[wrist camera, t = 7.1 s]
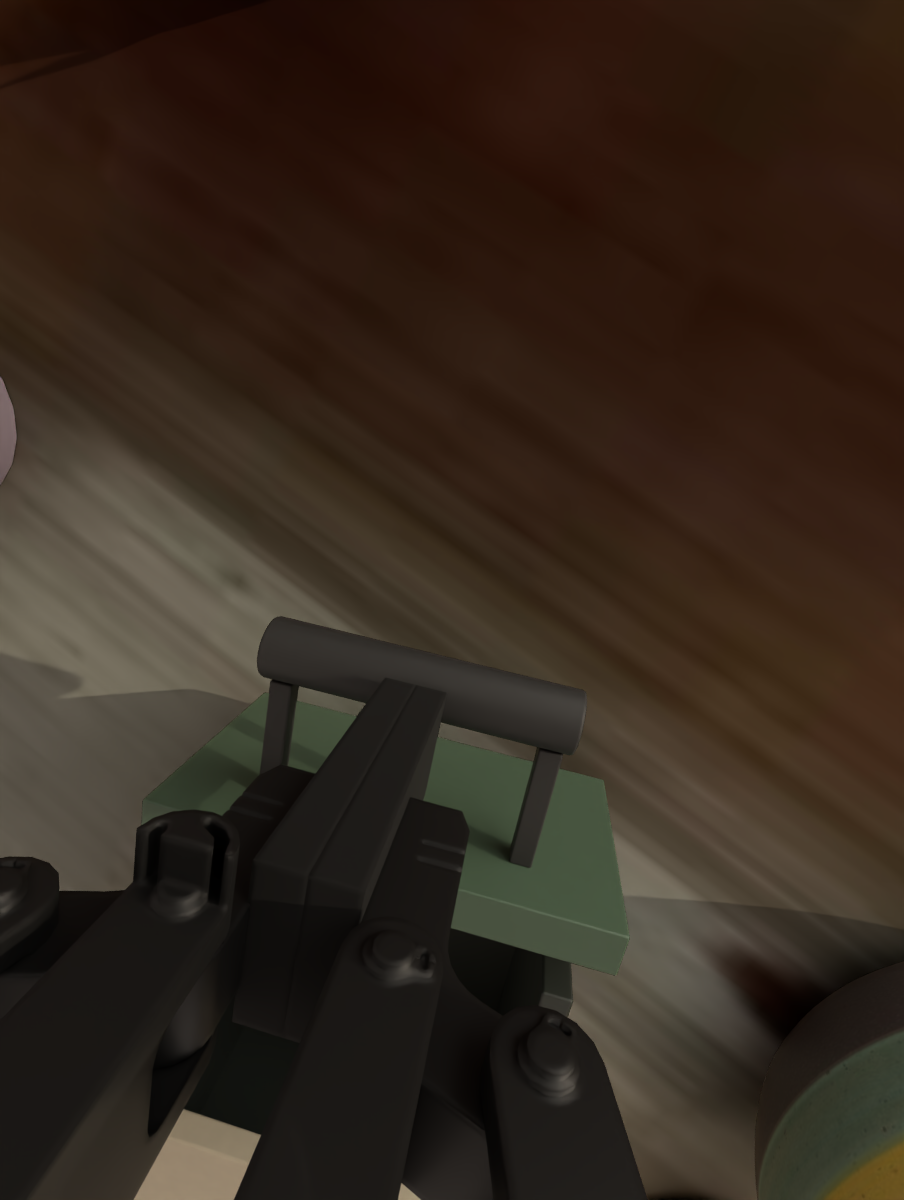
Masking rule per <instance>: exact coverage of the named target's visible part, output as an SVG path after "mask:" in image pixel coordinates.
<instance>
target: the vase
mask: <svg viewBox="0 0 904 1200" xmlns="http://www.w3.org/2000/svg"><path fill="white" fill-rule="evenodd" d="M755 1177H756V1190H757V1198H758V1200H904V961H903V962H899V963H896V964H893V965H890V966H887V967H884V968H881V969H879V970H876V971H874V972H872V973H869V974H867V975H865V976H863V977H860V978H858V979H856V980H854V981H852V982H850V983H849V984H847V985H845V986H843V987H842V988H840V989H838V990H837V991H835V992H834V993H832V994H831V995H829V996H828V997H826V998H825V999H824V1000H822V1001H821V1002H820V1003H819V1004H817V1005H816V1006H815V1007H814V1008H813V1009H812V1010H811V1011H809V1012H808V1013H807V1014H806V1015H805V1016H804V1017H803V1018H802V1019H801V1020H800V1021H799V1023H798V1024H797V1025H796V1026H795V1027H794V1028H793V1029H792V1030H791V1031H790V1033H789V1034H788V1035H787V1037H786V1038H785V1039H784V1041H783V1042H782V1044H781V1045H780V1047H779V1049H778V1050H777V1052H776V1054H775V1055H774V1058H773V1060H772V1062H771V1064H770V1066H769V1069H768V1072H767V1075H766V1078H765V1081H764V1083H763V1086H762V1090H761V1094H760V1099H759V1105H758V1112H757V1120H756V1129H755Z"/></svg>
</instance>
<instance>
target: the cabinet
mask: <svg viewBox="0 0 904 1200" xmlns="http://www.w3.org/2000/svg"><path fill="white" fill-rule="evenodd" d="M260 1136H261V1135H260V1134H257V1133H254V1132H251V1131H248V1130H245V1129H242V1128H239V1127H236V1126H233V1125H230V1124H227V1123H224V1122H221V1121H218V1120H215V1119H212V1118H209V1117H206V1116H203V1115H200V1114H197V1113H194V1112H191V1111H188V1110H185V1109H183V1111H182V1113H181V1115H180V1116H179V1118H178V1120H177V1122H176V1124H175V1126H174V1127H173V1129H172V1131H171V1133H170V1135H169V1136H168V1138H167V1140H166V1142H165V1144H164V1146H163V1147H162V1149H161V1151H160V1153H159V1155H158V1156H157V1158H156V1160H155V1162H154V1164H153V1166H152V1167H151V1169H150V1171H149V1173H148V1175H147V1176H146V1178H145V1180H144V1182H143V1184H142V1185H141V1187H140V1189H139V1191H138V1193H137V1195H136V1196H135V1198H134V1200H234V1198H235V1196H236V1193H237V1191H238V1189H239V1186H240V1184H241V1181H242V1179H243V1177H244V1174H245V1172H246V1170H247V1167H248V1165H249V1162H250V1160H251V1158H252V1155H253V1153H254V1151H255V1148H256V1146H257V1143H258V1141H259V1139H260ZM398 1200H421V1199H420V1198H418V1197H417V1196H416V1195H415V1194H414V1193H413V1192H411V1191H410V1190H409V1189H408V1188H407V1187H406V1186H404V1185H403V1184H402V1183H401V1187H400V1192H399V1197H398Z"/></svg>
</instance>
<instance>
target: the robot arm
mask: <svg viewBox="0 0 904 1200" xmlns="http://www.w3.org/2000/svg"><path fill="white" fill-rule="evenodd" d="M446 695H447V693H446V692H442V691H438V690H434V689H430V688H426V687H422V686H418V685H414V684H410V683H406V682H402V681H398V680H394V679H390V678H386V677H385V678H384V680H383V681H382V683H381V684H380V685H379V687H378V688H377V689H376V691H375V692H374V694H373V695H372V696H371V698H370V699H369V700H368V702H367V703H366V705H365V706H364V707H363V709H362V710H361V712H360V713H359V714H358V716H357V717H356V718H355V720H354V721H353V723H352V724H351V725H350V727H349V728H348V729H347V731H346V732H345V734H344V735H343V736H342V738H341V739H340V740H339V742H338V743H337V745H336V746H335V747H334V749H333V750H332V752H331V753H330V754H329V756H328V757H327V758H326V760H325V761H324V763H323V764H322V765H321V767H320V768H319V769H318V771H317V772H316V774H315V773H311V772H308V771H304V770H300V769H297V768H293V767H289V766H285V765H282V764H281V765H279V766H277V767H275V768H273V769H271V770H269V771H267V772H265V773H262V774H260V775H258V776H257V777H256V779H255V780H254V781H253V782H252V783H251V784H250V785H249V786H248V787H247V789H246V790H245V791H244V792H243V794H242V796H239V797H238V798H237V800H236V801H235V802H234V803H233V804H232V805H231V807H230V809H229V810H227V811H226V812H225V813H224V814H223V815H222V816H221V815H219V814H216V813H214V812H210V811H202V810H195V809H192V810H181V811H172V812H169V813H166V814H163V815H160V816H157V817H154V818H152V819H151V820H149V821H147V822H146V823H144V824H143V825H141V826H140V827H138V828H137V833H136V848H135V862H134V877H133V883H132V884H131V885H130V886H129V887H128V888H127V889H126V890H120V891H105V892H102V891H59V874H58V872H57V871H56V870H55V869H54V868H53V867H52V866H51V865H50V863H48V862H45V861H42V860H39V859H36V858H33V857H4V858H0V1200H134V1198H135V1196H136V1195H137V1193H138V1191H139V1189H140V1187H141V1185H142V1184H143V1182H144V1180H145V1178H146V1176H147V1175H148V1173H149V1171H150V1169H151V1167H152V1166H153V1164H154V1162H155V1160H156V1158H157V1156H158V1155H159V1153H160V1151H161V1149H162V1147H163V1146H164V1144H165V1142H166V1140H167V1138H168V1136H169V1135H170V1133H171V1131H172V1129H173V1127H174V1126H175V1124H176V1122H177V1120H178V1118H179V1116H180V1115H181V1113H182V1111H183V1109H184V1107H185V1106H186V1104H187V1102H188V1100H189V1098H190V1096H191V1095H192V1093H193V1091H194V1089H195V1087H196V1086H197V1084H198V1082H199V1080H200V1078H201V1076H202V1075H203V1073H204V1071H205V1069H206V1067H207V1066H208V1064H209V1062H210V1059H211V1056H212V1053H213V1050H214V1047H215V1044H216V1036H217V1028H218V1024H219V1022H220V1020H221V1018H222V1017H223V1015H224V1013H225V1011H226V1010H227V1008H228V1006H229V1004H230V1003H231V1001H232V999H233V998H234V996H235V1001H234V1009H233V1017H232V1022H234V1023H238V1024H241V1025H244V1026H247V1027H250V1028H253V1029H257V1030H260V1031H263V1032H266V1033H269V1034H272V1035H275V1036H279V1037H282V1038H285V1039H288V1040H291V1041H294V1042H298V1043H300V1044H299V1046H298V1048H297V1051H296V1053H295V1056H294V1058H293V1060H292V1063H291V1065H290V1067H289V1070H288V1072H287V1075H286V1077H285V1079H284V1082H283V1084H282V1086H281V1089H280V1091H279V1094H278V1096H277V1098H276V1101H275V1103H274V1105H273V1108H272V1110H271V1113H270V1115H269V1117H268V1120H267V1122H266V1124H265V1127H264V1129H263V1132H262V1134H261V1136H260V1139H259V1141H258V1143H257V1146H256V1148H255V1151H254V1153H253V1155H252V1158H251V1160H250V1162H249V1165H248V1167H247V1170H246V1172H245V1174H244V1177H243V1179H242V1181H241V1184H240V1186H239V1189H238V1191H237V1193H236V1196H235V1198H234V1200H398V1197H399V1192H400V1187H401V1183H402V1184H403V1185H404V1186H406V1187H407V1188H408V1189H409V1190H410V1191H411V1192H413V1193H414V1194H415V1195H416V1196H417V1197H418V1198H420V1199H421V1200H648V1199H647V1196H646V1193H645V1190H644V1187H643V1184H642V1180H641V1177H640V1174H639V1171H638V1168H637V1165H636V1162H635V1158H634V1155H633V1152H632V1149H631V1146H630V1143H629V1140H628V1136H627V1133H626V1130H625V1127H624V1124H623V1121H622V1118H621V1114H620V1111H619V1108H618V1105H617V1102H616V1099H615V1096H614V1092H613V1089H612V1086H611V1083H610V1080H609V1077H608V1074H607V1071H606V1067H605V1064H604V1062H603V1060H602V1058H601V1056H600V1054H599V1052H598V1050H597V1048H596V1046H595V1044H594V1042H593V1041H592V1040H591V1039H590V1038H589V1037H588V1035H587V1034H586V1033H585V1032H584V1031H583V1030H582V1029H581V1028H580V1027H579V1026H578V1024H577V1023H575V1022H574V1021H572V1020H571V1019H569V1018H567V1017H566V1016H564V1015H563V1014H561V1013H559V1012H558V1011H556V1010H553V1009H549V1008H545V1007H541V1006H537V1005H530V1006H522V1007H515V1008H514V1009H512V1010H511V1011H509V1012H508V1013H506V1014H505V1015H503V1016H502V1015H501V1014H499V1013H498V1012H496V1011H495V1010H493V1009H492V1008H490V1007H489V1006H487V1005H485V1004H484V1003H482V1002H481V1001H480V1000H479V999H477V998H476V997H475V996H474V995H472V994H471V993H470V992H469V991H468V990H467V989H466V988H465V987H464V985H463V984H462V983H461V982H460V981H459V979H458V978H457V976H456V974H455V972H454V970H453V968H452V966H451V963H450V959H449V954H448V939H449V934H450V929H451V924H452V919H453V914H454V909H455V904H456V899H457V894H458V889H459V884H460V879H461V873H462V868H463V863H464V858H465V853H466V848H467V843H468V838H469V833H470V830H469V828H468V825H467V822H466V820H465V817H464V814H463V812H462V811H460V810H456V809H453V808H449V807H445V806H441V805H438V804H434V803H430V802H427V801H423V799H424V796H425V793H426V789H427V784H428V779H429V775H430V770H431V765H432V760H433V756H434V751H435V746H436V742H437V737H438V732H439V728H440V723H441V718H442V714H443V709H444V704H445V699H446Z"/></svg>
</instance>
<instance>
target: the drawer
mask: <svg viewBox="0 0 904 1200" xmlns="http://www.w3.org/2000/svg"><path fill="white" fill-rule="evenodd" d="M257 667H258V671H259V673H260V675H262V676H263V677H266V678H270V679H272V680H271V682H270V690H269V693H264V694H262V695H261V696H260V697H259V698H258V699H257V700H256V701H254V702H253V703H252V704H251V705H250V706H249V707H248V708H247V709H245V710H244V711H243V712H242V713H241V714H240V715H239V716H237V717H236V718H235V719H234V720H233V721H232V722H231V723H230V724H228V725H227V726H226V727H225V728H224V729H223V730H222V731H220V732H219V733H218V734H217V735H216V736H215V737H214V738H212V739H211V740H210V741H209V742H208V743H207V744H206V745H205V746H203V747H202V748H201V749H200V750H199V751H198V752H197V753H195V754H194V755H193V756H192V757H191V758H190V759H189V760H188V761H186V762H185V763H184V764H183V765H182V766H181V767H180V768H178V769H177V770H176V771H175V772H174V773H173V774H172V775H171V776H169V777H168V778H167V779H166V780H165V781H164V782H163V783H161V784H160V785H159V786H158V787H157V788H156V789H155V790H153V791H152V792H151V793H150V794H149V795H148V796H147V797H146V798H144V800H143V803H142V821H141V825H143V824H144V823H146V822H147V821H149V820H151V819H152V818H154V817H157V816H160V815H163V814H166V813H169V812H172V811H181V810H192V809H195V810H202V811H210V812H214V813H216V814H219V815H221V816H222V815H223V814H224V813H225V812H226V811H227V810H229V809H230V807H231V805H232V804H233V803H234V802H235V801H236V800H237V798H238V797H239V796H242V794H243V792H244V791H245V790H246V789H247V787H248V786H249V785H250V784H251V783H252V782H253V781H254V780H255V779H256V777H257V776H258V775H260V774H262V773H265V772H267V771H269V770H271V769H273V768H275V767H277V766H279V765H281V764H282V765H285V766H289V767H293V768H297V769H300V770H304V771H308V772H311V773H315V774H316V772H317V771H318V769H319V768H320V767H321V765H322V764H323V763H324V761H325V760H326V758H327V757H328V756H329V754H330V753H331V752H332V750H333V749H334V747H335V746H336V745H337V743H338V742H339V740H340V739H341V738H342V736H343V735H344V734H345V732H346V731H347V729H348V728H349V727H350V725H351V724H352V723H353V721H354V720H355V718H356V717H357V716H354V715H350V714H346V713H342V712H338V711H334V710H331V709H327V708H323V707H319V706H315V705H311V704H307V703H304V702H300V701H297V696H298V688H299V686H301V687H305V688H309V689H313V690H317V691H321V692H324V693H328V694H332V695H336V696H340V697H344V698H348V699H352V700H356V701H360V702H364V703H367V702H368V700H369V699H370V698H371V696H372V695H373V694H374V692H375V691H376V689H377V688H378V687H379V685H380V684H381V683H382V681H383V680H384V678H385V677H386V678H390V679H394V680H398V681H402V682H406V683H410V684H414V685H418V686H422V687H426V688H430V689H434V690H438V691H442V692H446V693H447V695H446V699H445V704H444V709H443V714H442V718H441V722H442V723H446V724H449V725H453V726H457V727H461V728H465V729H469V730H473V731H477V732H481V733H485V734H489V735H492V736H496V737H500V738H504V739H508V740H512V741H516V742H520V743H524V744H528V745H532V746H535V747H537V750H536V754H535V757H534V761H533V762H532V761H528V760H524V759H520V758H516V757H512V756H509V755H505V754H501V753H497V752H493V751H489V750H485V749H481V748H478V747H474V746H470V745H466V744H462V743H458V742H454V741H451V740H447V739H443V738H439V737H437V742H436V746H435V751H434V756H433V760H432V765H431V770H430V775H429V779H428V784H427V789H426V793H425V796H424V799H423V801H427V802H430V803H434V804H438V805H441V806H445V807H449V808H453V809H456V810H460V811H462V812H463V814H464V817H465V820H466V822H467V825H468V828H469V830H470V833H469V838H468V843H467V848H466V853H465V858H464V863H463V868H462V873H461V879H460V884H459V889H458V894H457V899H456V904H455V909H454V914H453V919H452V924H451V929H450V934H449V939H448V954H449V959H450V963H451V966H452V968H453V970H454V972H455V974H456V976H457V978H458V979H459V981H460V982H461V983H462V984H463V985H464V987H465V988H466V989H467V990H468V991H469V992H470V993H471V994H472V995H474V996H475V997H476V998H477V999H479V1000H480V1001H481V1002H482V1003H484V1004H485V1005H487V1006H489V1007H490V1008H492V1009H493V1010H495V1011H496V1012H498V1013H499V1014H501V1015H502V1016H503V1015H505V1014H506V1013H508V1012H509V1011H511V1010H512V1009H514V1008H515V1007H522V1006H530V1005H537V1006H541V1007H545V1008H549V1009H553V1010H556V1011H558V1012H559V1013H561V1014H563V1015H564V1016H566V1017H567V1018H568V1015H569V1012H570V1009H571V1006H572V1003H573V993H572V971H571V963H573V964H576V965H580V966H583V967H587V968H590V969H594V970H597V971H600V972H604V973H607V974H611V975H614V976H615V975H617V973H618V970H619V967H620V964H621V961H622V959H623V956H624V953H625V950H626V947H627V945H628V942H629V939H630V937H629V931H628V925H627V919H626V913H625V906H624V900H623V894H622V888H621V882H620V876H619V870H618V864H617V858H616V852H615V846H614V840H613V834H612V828H611V822H610V816H609V810H608V804H607V798H606V792H605V786H604V781H603V780H601V779H597V778H594V777H590V776H586V775H582V774H578V773H574V772H570V771H567V770H563V769H559V768H560V765H561V761H562V758H563V754H567V755H573V754H574V752H575V751H576V749H577V747H578V744H579V741H580V738H581V735H582V731H583V727H584V722H585V716H586V709H587V695H586V692H585V691H584V690H581V689H577V688H573V687H569V686H564V685H560V684H556V683H552V682H548V681H544V680H540V679H536V678H532V677H528V676H524V675H519V674H515V673H511V672H507V671H503V670H499V669H495V668H491V667H487V666H483V665H479V664H474V663H470V662H466V661H462V660H458V659H454V658H450V657H446V656H442V655H438V654H434V653H430V652H425V651H421V650H417V649H413V648H409V647H405V646H401V645H397V644H393V643H389V642H385V641H380V640H376V639H372V638H368V637H364V636H360V635H356V634H352V633H348V632H344V631H340V630H335V629H331V628H327V627H323V626H319V625H315V624H311V623H307V622H303V621H299V620H295V619H291V618H286V617H282V616H280V617H276V618H274V619H273V620H272V621H271V622H270V623H269V625H268V626H267V628H266V630H265V632H264V634H263V637H262V639H261V642H260V646H259V650H258V656H257ZM234 1001H235V996H234V998H233V999H232V1001H231V1003H230V1004H229V1006H228V1008H227V1010H226V1011H225V1013H224V1015H223V1017H222V1018H221V1020H220V1022H219V1024H218V1028H217V1036H216V1044H215V1047H214V1050H213V1053H212V1056H211V1059H210V1062H209V1064H208V1066H207V1067H206V1069H205V1071H204V1073H203V1075H202V1076H201V1078H200V1080H199V1082H198V1084H197V1086H196V1087H195V1089H194V1091H193V1093H192V1095H191V1096H190V1098H189V1100H188V1102H187V1104H186V1106H185V1107H184V1109H185V1110H188V1111H191V1112H194V1113H197V1114H200V1115H203V1116H206V1117H209V1118H212V1119H215V1120H218V1121H221V1122H224V1123H227V1124H230V1125H233V1126H236V1127H239V1128H242V1129H245V1130H248V1131H251V1132H254V1133H257V1134H260V1135H261V1134H262V1132H263V1129H264V1127H265V1124H266V1122H267V1120H268V1117H269V1115H270V1113H271V1110H272V1108H273V1105H274V1103H275V1101H276V1098H277V1096H278V1094H279V1091H280V1089H281V1086H282V1084H283V1082H284V1079H285V1077H286V1075H287V1072H288V1070H289V1067H290V1065H291V1063H292V1060H293V1058H294V1056H295V1053H296V1051H297V1048H298V1046H299V1044H300V1043H298V1042H294V1041H291V1040H288V1039H285V1038H282V1037H279V1036H275V1035H272V1034H269V1033H266V1032H263V1031H260V1030H257V1029H253V1028H250V1027H247V1026H244V1025H241V1024H238V1023H234V1022H232V1017H233V1009H234Z"/></svg>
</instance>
